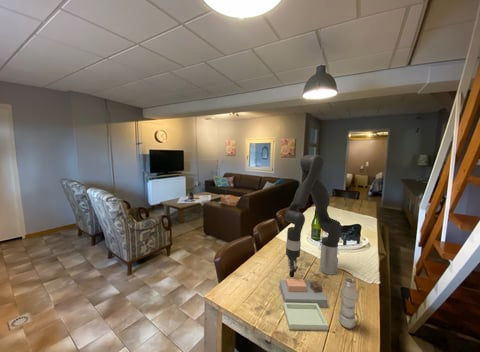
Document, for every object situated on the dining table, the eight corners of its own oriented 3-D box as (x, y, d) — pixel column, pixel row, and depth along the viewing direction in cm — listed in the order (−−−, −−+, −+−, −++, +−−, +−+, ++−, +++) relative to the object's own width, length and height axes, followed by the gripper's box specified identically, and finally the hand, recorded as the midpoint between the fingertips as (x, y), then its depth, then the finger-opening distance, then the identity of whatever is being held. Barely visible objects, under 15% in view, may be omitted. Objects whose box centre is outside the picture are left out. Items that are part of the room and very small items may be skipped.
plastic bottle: (338, 328, 83) (342, 283, 81) (337, 315, 89) (340, 274, 87) (356, 333, 81) (360, 288, 78) (353, 320, 87) (357, 278, 85)
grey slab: (316, 287, 108) (316, 280, 108) (327, 307, 94) (327, 299, 94) (279, 286, 108) (279, 280, 108) (285, 306, 94) (285, 298, 94)
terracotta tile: (302, 284, 105) (302, 278, 104) (306, 292, 99) (306, 286, 98) (285, 283, 105) (285, 278, 104) (288, 291, 99) (288, 286, 98)
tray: (317, 308, 94) (317, 303, 93) (327, 330, 82) (328, 325, 81) (283, 307, 94) (283, 302, 93) (289, 329, 82) (289, 324, 82)
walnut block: (316, 286, 103) (317, 281, 103) (321, 291, 99) (322, 286, 99) (310, 287, 102) (310, 282, 102) (314, 292, 98) (315, 287, 98)
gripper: (303, 253, 101) (302, 284, 103) (296, 241, 114) (295, 269, 116) (289, 252, 101) (287, 284, 103) (283, 241, 114) (282, 269, 116)
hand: (291, 276), depth 110 cm, fingers closed
